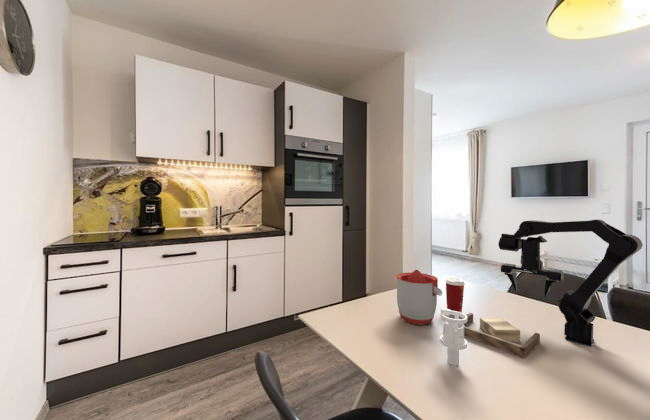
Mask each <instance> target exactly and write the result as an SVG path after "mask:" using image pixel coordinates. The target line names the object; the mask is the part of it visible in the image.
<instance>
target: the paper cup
mask: <svg viewBox="0 0 650 420" xmlns="http://www.w3.org/2000/svg"><path fill="white" fill-rule="evenodd" d="M444 283H445V295H446V297H445V299H446V309H450V310H452V311H457V312H461V313H463V304H464V303H463V302H464V291H465V285H466V283H465V280H464V279H462V278H458V277H446V278H445V281H444Z"/></svg>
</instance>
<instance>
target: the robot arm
mask: <svg viewBox="0 0 650 420" xmlns="http://www.w3.org/2000/svg"><path fill="white" fill-rule="evenodd" d="M577 232H579V233H580V232H581V233H582V232H584V233H585V232H592V233H593V234H595V235H596V236H598V237H599V238H600V239H601V240H602V241H604V242H605V243H606V244H608V246H607V248H606V251H605V253H604V256H603V258H602V260H601V261H600V262H599V263H598V264H597V265H596V266H595V267H594V269H593V270H592V271H591V272H590V273H589V275H588V276H587V277H586V279H584V281H583V282H582V283H581V284H580V286H579V287H578V289H577V290H576V291H574V290H573V289H570V290H568V291H566V292H565V293H564V294H563V297H562V298H561V299H559V300H558V302H559V304H558V309H559V311H560V313H561V314H562V315H563V317H564V319H565V321H566V322H564V329H563V330H564V333H563V334H564V336H565V337H564V339H565V340H566V341H567V340H568V341H571V342H574V343H578V344H581V345H584V346H587V347H592V346H593V344H594V342H595V339H594V323H593V322H594V321H595V319H596V315H595V314H594V313H593V312H592V311H590V309H588V308H589V307H590V303H591V301H592V297H594V295H595V294H596V293H597V291H598V290H599V289H600V288H601V287H602V286H603V285H604V284H605V283H606V281H607V280H608V279H609V277H611V275H613V273H614V272H615V271H616V270H617V268H618V267H619V266H620V265H621V264H623V263H624V262H625V261H627V260H629V258H631V257H633V256H634V255H635V254H637V253H638V252H639V251H640V250H642V248H643V245H644V244H643V241H642V240H641V239H640V238H639V237H638V236H636V235H632V234H628V233H625V232H624V231H622V230H620V229H618V228H616V227H615V226H613V225H611V224H608V223H607V222H606V221H604V220H602V219H592V220H575V221H573V220H571V221H555V222H554V221H544V220H543V221H542V220H533V219H532V220H523V221H522V222H521V223H520V224H519V226H518V229H517V230H516V232H514V233H513V234H509V233H501V234H500V235H501V237H500V238H499V240H498V249H500V251H508V252H509V251H510V252H519V250H521V252H520V253H521V255H520V265H521V266H520V267H519V266H517V265H516V264H513V263H503V264H501V265H500V272H501V273H504V275H505V276H507V278H508V279H509V281H510V283H511V285H512V287H513V289H514V291H515V292H518V280H517V274H518V273H521V274H522V273H523V274H530V275H537V276H543V277H547V278H546V279H545V284H544V285H545V286H544V293H543V294H544V297H545V298H547V297H548V294H549V292H550V290H551V288H552V285H553V284H554V283H558V282H559V281H560V282H561V281H563V280H564V279H565V277H564V275H565V273H564V272H563V270H559V269H551V268H550V269H548V270H543V265H544V262H543V261H542V260H541V243H543V244H544V243H547V242H548V240H547V239H546V238H544V237H543V236H542V235H545V234H548V233H549V234H550V233H577ZM532 236H537V237H532Z"/></svg>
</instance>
